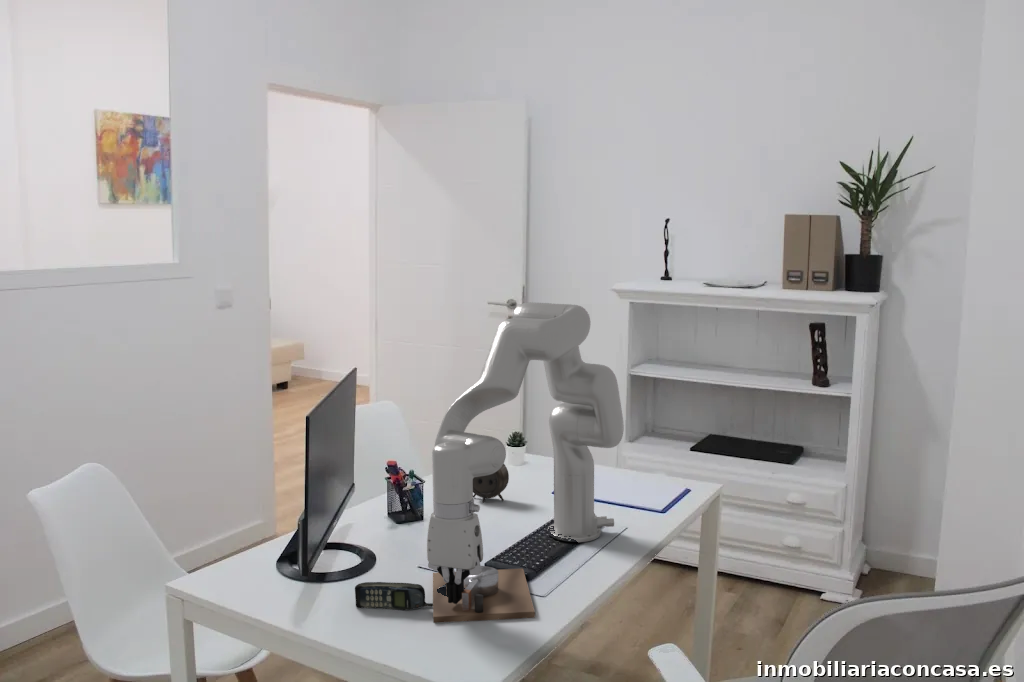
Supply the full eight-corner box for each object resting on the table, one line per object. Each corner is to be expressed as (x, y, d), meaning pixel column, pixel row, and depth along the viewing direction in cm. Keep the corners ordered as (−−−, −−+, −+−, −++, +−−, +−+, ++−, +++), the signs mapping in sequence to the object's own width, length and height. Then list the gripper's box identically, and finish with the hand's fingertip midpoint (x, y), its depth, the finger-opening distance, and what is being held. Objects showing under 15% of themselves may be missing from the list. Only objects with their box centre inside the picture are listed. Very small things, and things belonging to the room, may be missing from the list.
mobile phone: (353, 586, 171) (429, 586, 169) (357, 580, 174) (432, 580, 172) (354, 610, 171) (430, 611, 170) (359, 604, 174) (434, 604, 173)
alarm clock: (509, 500, 237) (509, 440, 235) (502, 506, 232) (501, 445, 230) (472, 495, 241) (471, 437, 239) (464, 501, 236) (462, 442, 234)
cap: (469, 580, 180) (469, 564, 180) (502, 584, 178) (502, 567, 178) (447, 608, 167) (447, 591, 167) (483, 612, 165) (483, 594, 165)
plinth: (523, 573, 187) (523, 554, 187) (534, 617, 167) (534, 596, 166) (433, 578, 186) (432, 559, 185) (433, 622, 165) (432, 601, 164)
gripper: (497, 506, 168) (498, 598, 170) (426, 498, 173) (428, 587, 176) (482, 518, 161) (483, 614, 163) (408, 510, 166) (411, 603, 169)
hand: (455, 600), depth 170 cm, fingers closed
